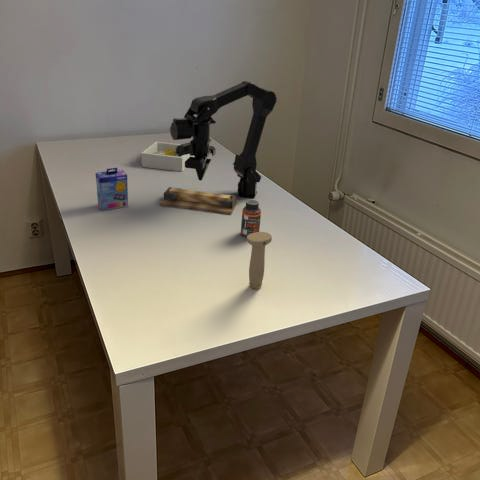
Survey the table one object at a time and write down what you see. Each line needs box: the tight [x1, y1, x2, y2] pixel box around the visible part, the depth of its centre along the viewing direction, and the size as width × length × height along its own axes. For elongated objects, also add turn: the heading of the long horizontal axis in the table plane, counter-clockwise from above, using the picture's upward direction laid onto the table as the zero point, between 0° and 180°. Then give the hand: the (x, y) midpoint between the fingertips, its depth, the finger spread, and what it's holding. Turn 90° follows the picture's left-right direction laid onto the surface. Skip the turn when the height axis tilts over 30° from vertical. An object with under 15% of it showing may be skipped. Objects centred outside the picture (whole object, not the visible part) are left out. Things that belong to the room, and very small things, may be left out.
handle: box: [246, 231, 273, 290], centre depth 127 cm, size 5×6×15 cm
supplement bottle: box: [240, 199, 262, 238], centre depth 156 cm, size 6×6×11 cm
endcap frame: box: [159, 186, 239, 215], centre depth 177 cm, size 26×12×4 cm, turn 79°
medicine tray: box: [140, 141, 195, 172], centre depth 215 cm, size 18×18×6 cm
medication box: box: [152, 149, 175, 156], centre depth 218 cm, size 12×3×4 cm, turn 137°
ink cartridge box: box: [95, 167, 129, 211], centre depth 169 cm, size 10×6×14 cm, turn 120°
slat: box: [169, 187, 232, 205], centre depth 177 cm, size 22×3×3 cm, turn 79°
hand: (200, 180), depth 174 cm, fingers closed
